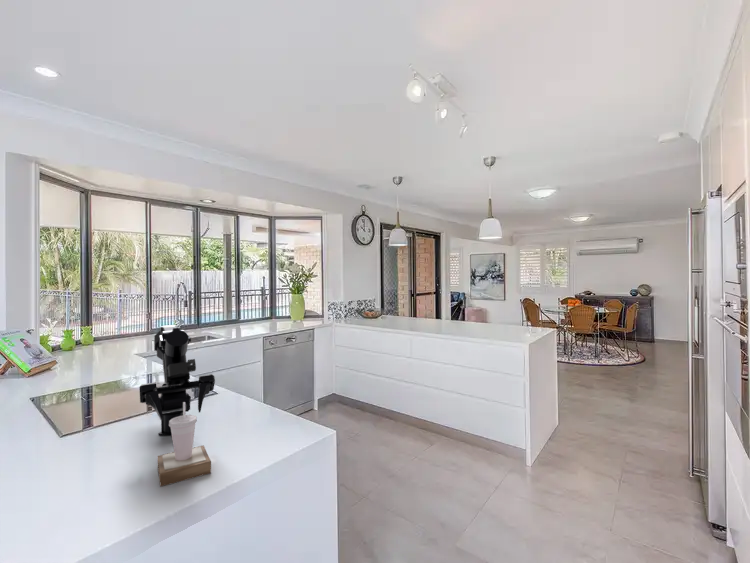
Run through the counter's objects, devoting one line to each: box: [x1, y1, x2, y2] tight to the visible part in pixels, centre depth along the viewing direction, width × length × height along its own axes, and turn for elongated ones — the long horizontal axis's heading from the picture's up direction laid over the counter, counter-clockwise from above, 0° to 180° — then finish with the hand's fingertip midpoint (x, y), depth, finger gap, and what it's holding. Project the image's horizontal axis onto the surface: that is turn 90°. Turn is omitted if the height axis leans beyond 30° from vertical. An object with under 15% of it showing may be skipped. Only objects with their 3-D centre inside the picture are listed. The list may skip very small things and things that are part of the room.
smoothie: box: [169, 402, 198, 461], centre depth 97 cm, size 6×6×14 cm
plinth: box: [157, 445, 212, 487], centre depth 97 cm, size 11×11×3 cm
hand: (181, 415), depth 103 cm, fingers open, 9 cm apart
